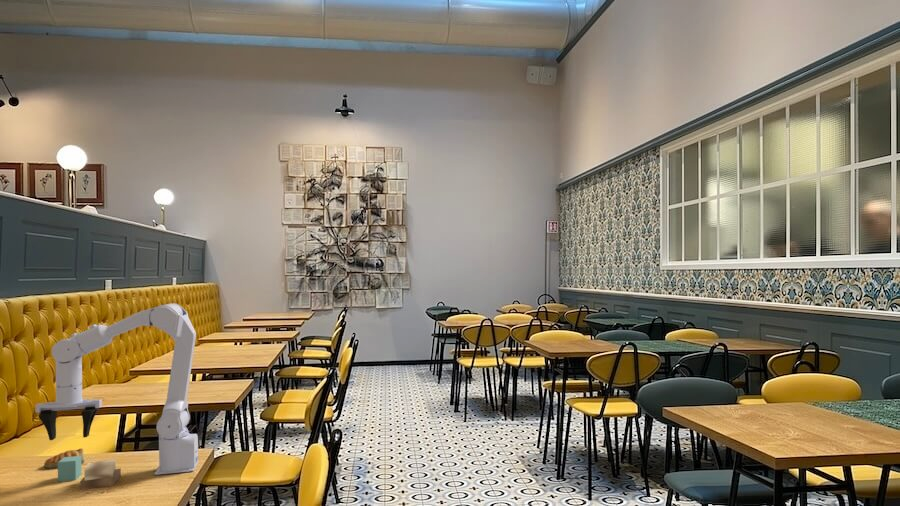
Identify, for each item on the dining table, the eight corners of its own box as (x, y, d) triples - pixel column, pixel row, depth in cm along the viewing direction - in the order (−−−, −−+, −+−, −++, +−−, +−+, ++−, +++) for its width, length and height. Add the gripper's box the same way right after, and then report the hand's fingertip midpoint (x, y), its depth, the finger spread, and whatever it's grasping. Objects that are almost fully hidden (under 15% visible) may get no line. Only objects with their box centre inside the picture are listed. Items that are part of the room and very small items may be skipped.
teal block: (81, 474, 151) (81, 455, 152) (75, 480, 148) (75, 460, 148) (64, 476, 150) (64, 457, 151) (57, 482, 147) (57, 462, 147)
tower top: (115, 469, 149) (115, 459, 149) (112, 476, 144) (112, 466, 144) (88, 472, 147) (88, 462, 147) (84, 480, 141) (84, 470, 141)
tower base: (120, 478, 150) (120, 468, 150) (112, 488, 143) (112, 477, 143) (90, 481, 148) (90, 471, 148) (80, 491, 141) (80, 480, 141)
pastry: (45, 472, 154) (45, 457, 155) (43, 466, 160) (43, 452, 160) (86, 464, 160) (86, 450, 161) (83, 458, 166) (83, 445, 166)
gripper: (105, 380, 155) (105, 430, 155) (43, 384, 152) (44, 436, 151) (96, 385, 148) (96, 438, 148) (31, 389, 145) (31, 444, 144)
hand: (69, 437), depth 149 cm, fingers open, 7 cm apart
